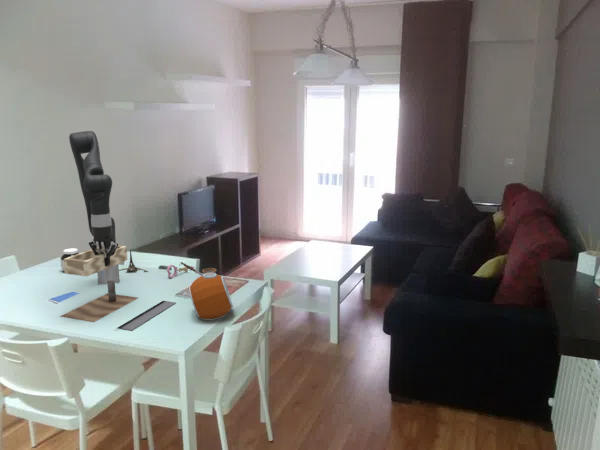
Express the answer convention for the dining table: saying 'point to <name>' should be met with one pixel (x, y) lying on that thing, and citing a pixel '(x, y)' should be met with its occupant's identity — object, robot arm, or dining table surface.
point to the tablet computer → (62, 297)
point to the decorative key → (176, 270)
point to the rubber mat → (146, 315)
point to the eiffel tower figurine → (132, 267)
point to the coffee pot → (207, 270)
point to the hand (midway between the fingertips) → (105, 265)
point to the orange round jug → (210, 296)
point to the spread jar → (68, 255)
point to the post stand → (100, 305)
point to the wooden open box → (92, 262)
